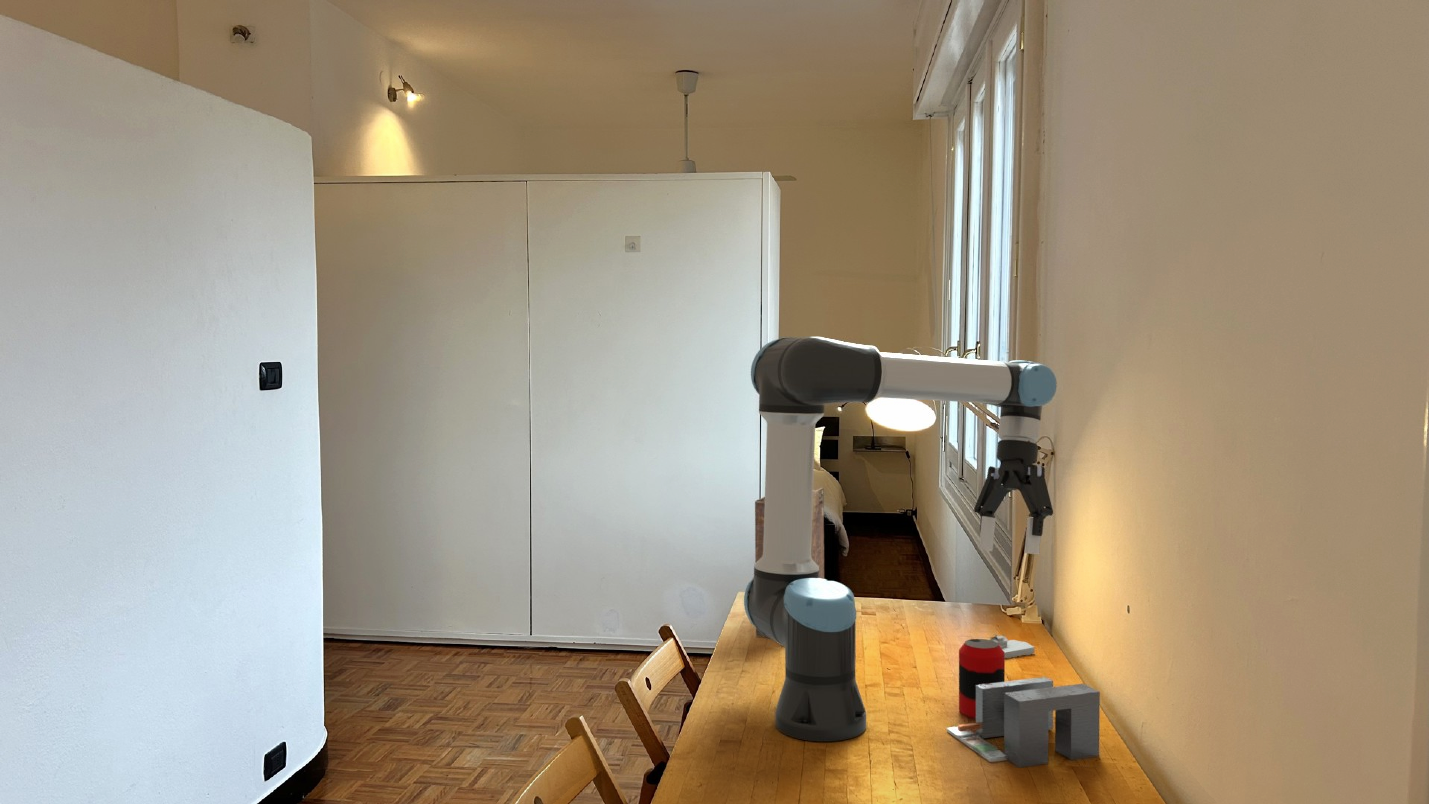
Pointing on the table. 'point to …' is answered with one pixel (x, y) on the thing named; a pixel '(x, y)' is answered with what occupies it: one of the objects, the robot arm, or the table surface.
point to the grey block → (1000, 705)
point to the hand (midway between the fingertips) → (1007, 552)
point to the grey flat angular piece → (1013, 647)
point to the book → (817, 532)
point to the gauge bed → (1043, 726)
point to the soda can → (978, 670)
